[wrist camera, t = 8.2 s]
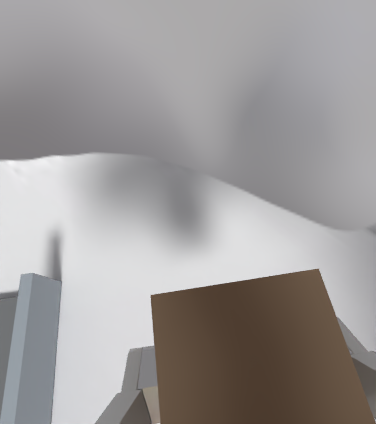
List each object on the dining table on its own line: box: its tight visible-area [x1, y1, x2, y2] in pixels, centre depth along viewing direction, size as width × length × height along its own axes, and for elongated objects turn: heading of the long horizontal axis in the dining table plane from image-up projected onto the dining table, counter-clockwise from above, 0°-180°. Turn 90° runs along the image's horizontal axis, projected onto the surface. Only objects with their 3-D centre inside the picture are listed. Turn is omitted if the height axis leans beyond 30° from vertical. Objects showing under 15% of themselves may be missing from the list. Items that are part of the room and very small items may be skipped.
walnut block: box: [151, 269, 376, 424], centre depth 10 cm, size 5×5×8 cm
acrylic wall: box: [0, 273, 61, 424], centre depth 19 cm, size 1×18×5 cm, turn 7°
